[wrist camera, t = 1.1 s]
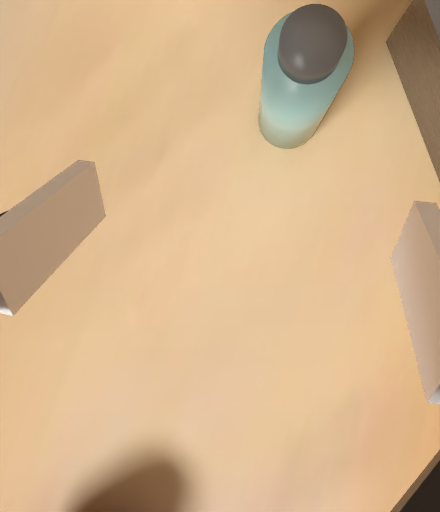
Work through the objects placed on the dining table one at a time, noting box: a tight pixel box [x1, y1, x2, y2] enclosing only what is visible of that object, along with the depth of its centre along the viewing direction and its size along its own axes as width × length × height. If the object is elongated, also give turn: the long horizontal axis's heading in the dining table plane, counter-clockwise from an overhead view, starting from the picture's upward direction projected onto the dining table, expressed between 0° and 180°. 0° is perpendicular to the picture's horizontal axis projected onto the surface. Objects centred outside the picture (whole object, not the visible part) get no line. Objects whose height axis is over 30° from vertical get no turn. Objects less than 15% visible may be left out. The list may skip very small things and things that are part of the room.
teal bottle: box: [259, 4, 354, 149], centre depth 25 cm, size 5×5×12 cm
